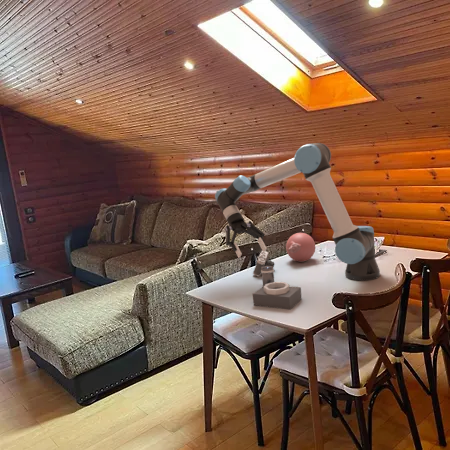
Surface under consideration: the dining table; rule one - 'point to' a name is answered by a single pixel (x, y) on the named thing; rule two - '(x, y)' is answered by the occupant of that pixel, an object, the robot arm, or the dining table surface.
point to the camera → (262, 263)
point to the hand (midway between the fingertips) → (252, 253)
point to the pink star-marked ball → (300, 247)
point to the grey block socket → (277, 295)
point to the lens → (267, 274)
